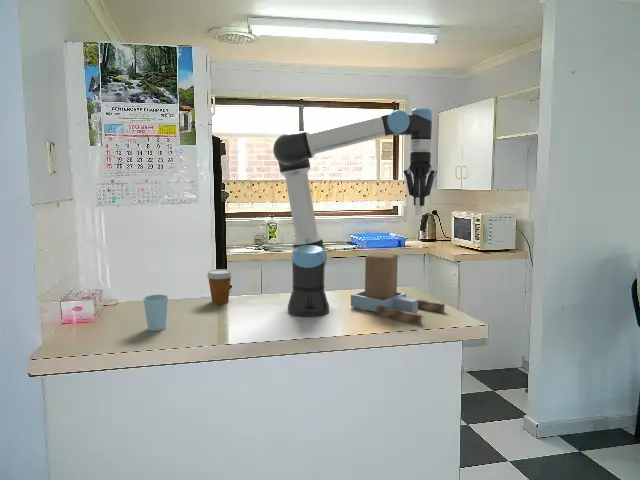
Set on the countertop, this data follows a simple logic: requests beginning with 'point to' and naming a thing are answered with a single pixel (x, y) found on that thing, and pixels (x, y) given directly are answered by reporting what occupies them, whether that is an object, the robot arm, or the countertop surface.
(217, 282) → the disposable coffee cup
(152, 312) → the cup
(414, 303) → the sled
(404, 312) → the rails
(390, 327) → the countertop surface
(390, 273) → the wooden block
